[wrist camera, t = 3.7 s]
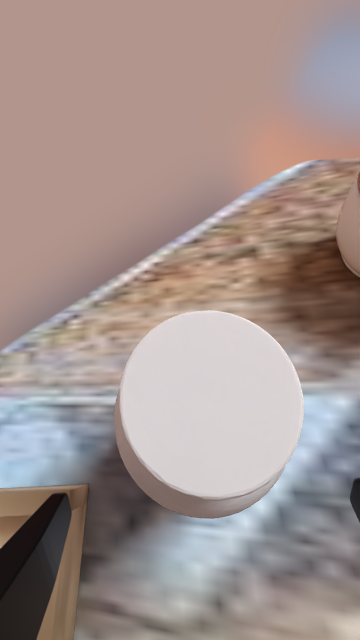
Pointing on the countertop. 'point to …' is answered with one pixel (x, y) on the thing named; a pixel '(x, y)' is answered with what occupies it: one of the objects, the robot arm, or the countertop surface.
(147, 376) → the supplement bottle
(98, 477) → the countertop surface
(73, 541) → the tray
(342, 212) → the lidded jar
